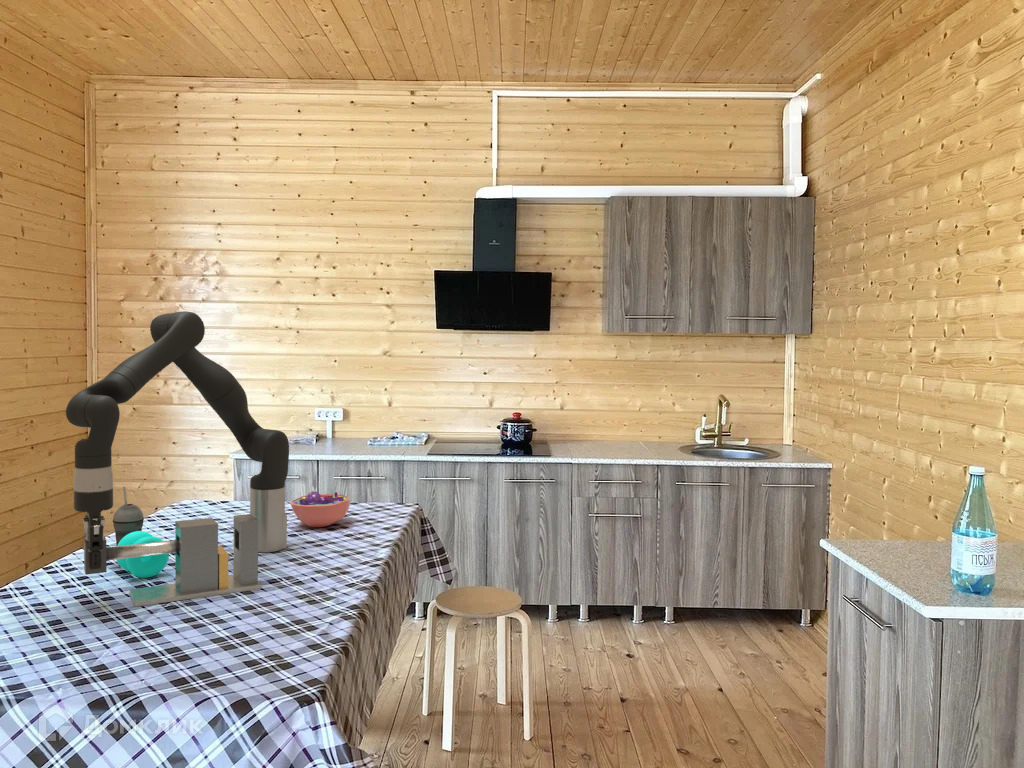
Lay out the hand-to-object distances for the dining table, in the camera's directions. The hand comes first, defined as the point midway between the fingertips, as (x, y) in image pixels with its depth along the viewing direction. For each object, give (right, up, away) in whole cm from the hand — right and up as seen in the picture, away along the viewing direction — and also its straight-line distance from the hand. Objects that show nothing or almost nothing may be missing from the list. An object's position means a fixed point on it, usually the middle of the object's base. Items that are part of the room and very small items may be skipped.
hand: (94, 565), depth 173 cm
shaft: (+9, -1, +6) cm, 11 cm away
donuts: (-1, -8, +24) cm, 25 cm away
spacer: (+22, -8, +14) cm, 27 cm away
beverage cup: (-8, -7, +31) cm, 33 cm away
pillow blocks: (+18, -9, +11) cm, 23 cm away
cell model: (+30, -5, +78) cm, 84 cm away
